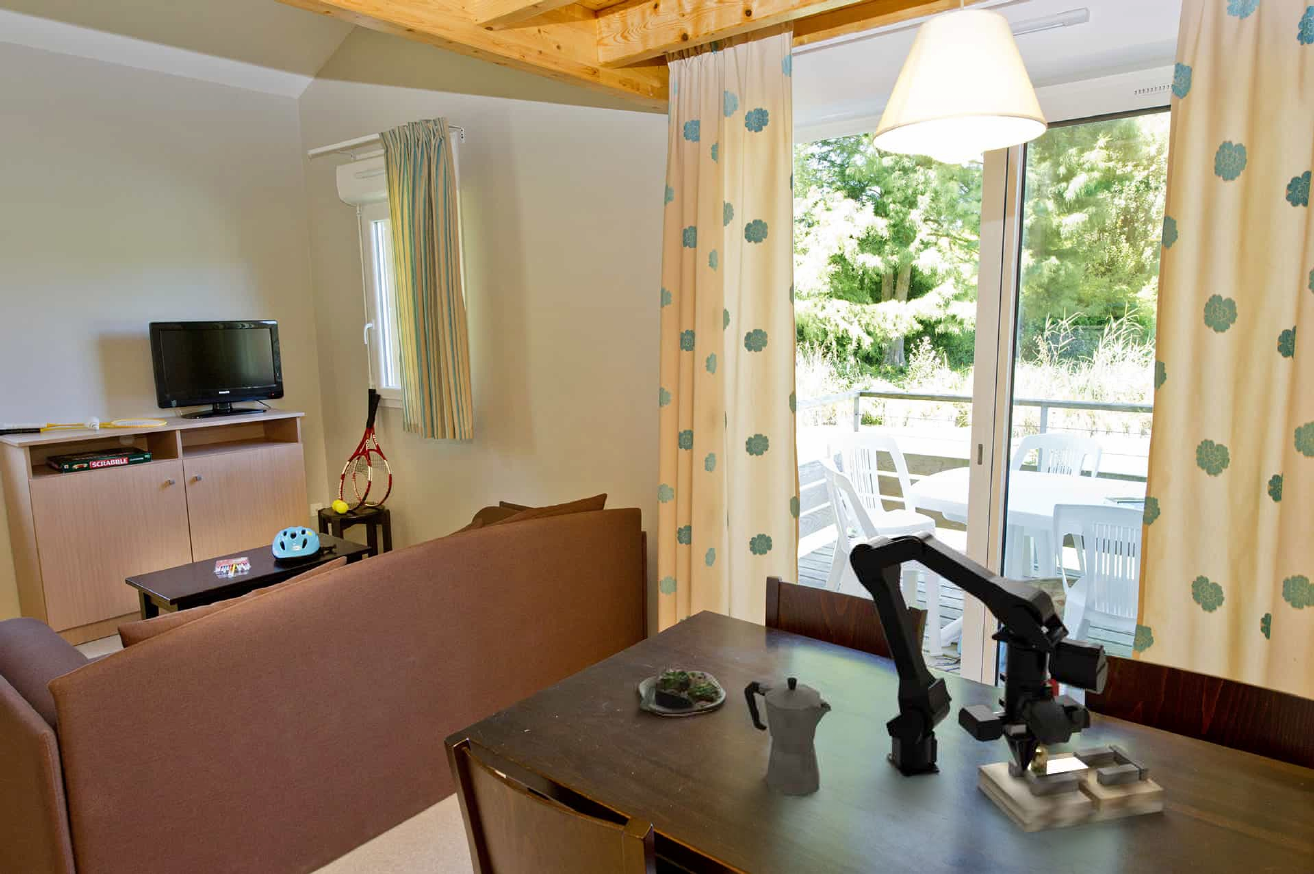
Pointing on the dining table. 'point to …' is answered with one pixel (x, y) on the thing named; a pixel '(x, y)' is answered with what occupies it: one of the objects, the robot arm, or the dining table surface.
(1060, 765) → the slide bolt
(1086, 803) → the door mockup
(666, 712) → the salad plate
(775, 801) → the dining table surface
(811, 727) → the coffeepot
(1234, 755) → the dining table surface
